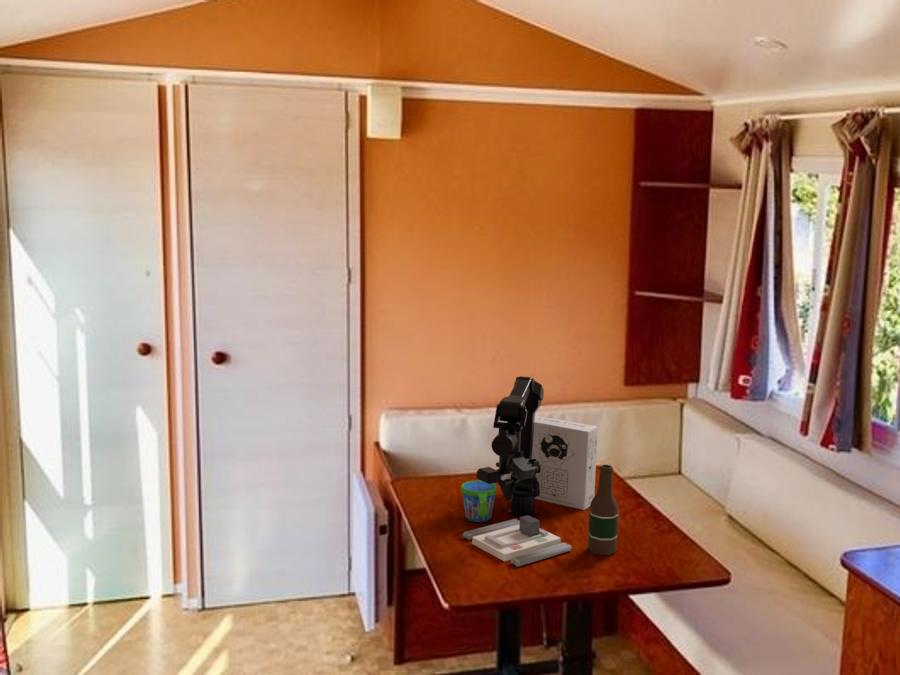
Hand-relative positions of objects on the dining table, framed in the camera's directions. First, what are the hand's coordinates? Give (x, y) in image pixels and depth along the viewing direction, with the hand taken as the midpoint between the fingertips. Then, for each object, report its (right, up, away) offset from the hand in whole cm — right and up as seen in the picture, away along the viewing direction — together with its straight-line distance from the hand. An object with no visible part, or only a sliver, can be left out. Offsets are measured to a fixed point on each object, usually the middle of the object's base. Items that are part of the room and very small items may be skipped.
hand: (508, 500), depth 248 cm
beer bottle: (+25, -13, -2) cm, 29 cm away
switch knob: (+6, -9, +3) cm, 12 cm away
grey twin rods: (+2, -12, 0) cm, 12 cm away
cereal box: (+18, -7, +36) cm, 41 cm away
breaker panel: (+2, -12, 0) cm, 12 cm away
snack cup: (-8, -9, +19) cm, 22 cm away
